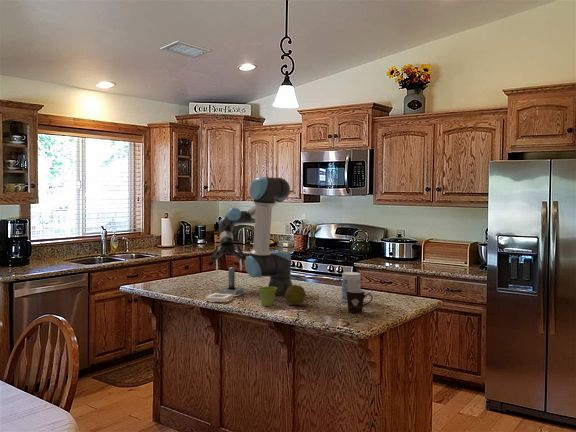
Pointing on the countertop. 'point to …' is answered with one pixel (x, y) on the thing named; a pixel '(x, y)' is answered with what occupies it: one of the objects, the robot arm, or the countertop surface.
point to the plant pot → (267, 295)
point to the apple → (295, 295)
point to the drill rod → (231, 278)
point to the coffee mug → (356, 300)
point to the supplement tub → (350, 283)
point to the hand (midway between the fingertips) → (229, 269)
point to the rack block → (219, 297)
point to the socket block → (228, 291)
